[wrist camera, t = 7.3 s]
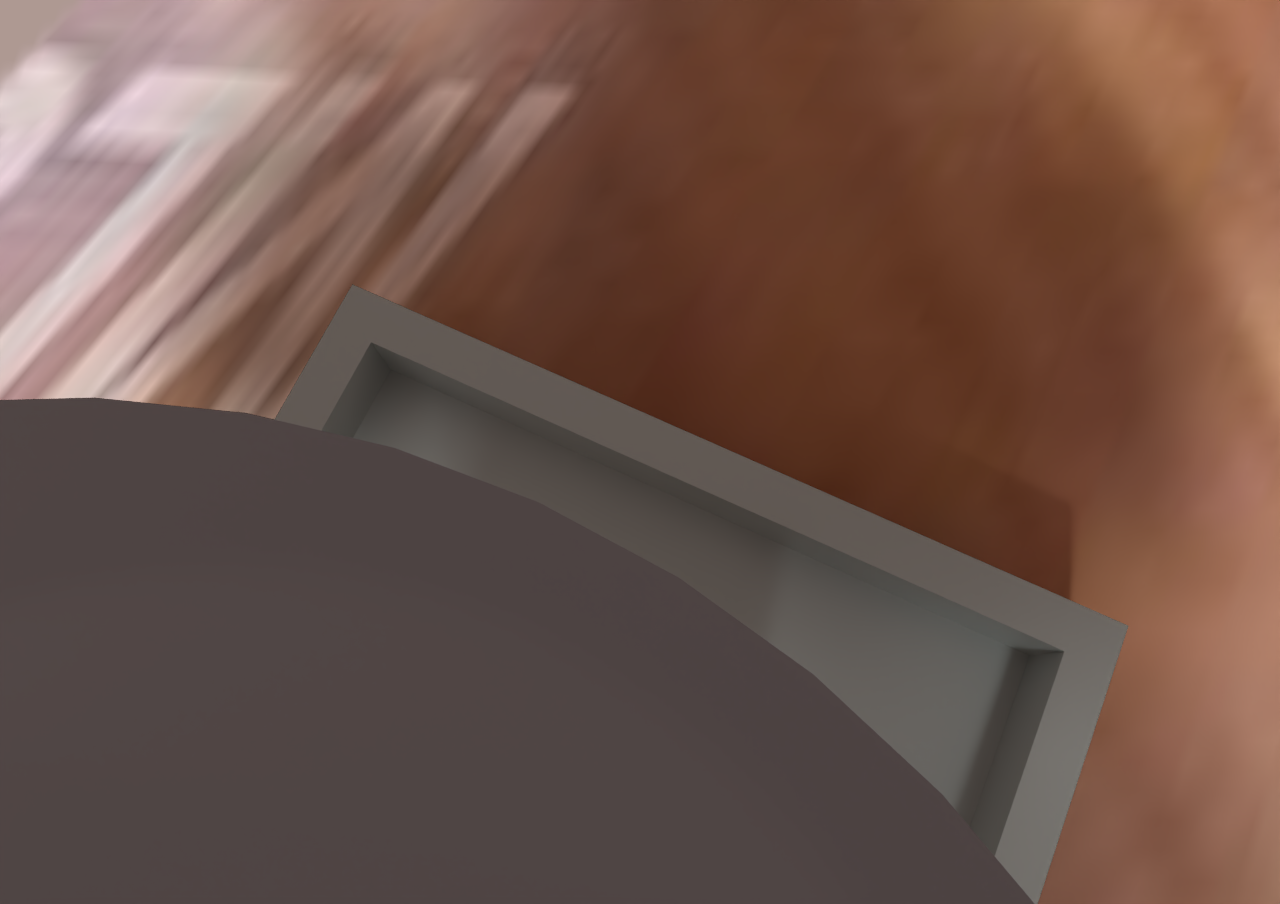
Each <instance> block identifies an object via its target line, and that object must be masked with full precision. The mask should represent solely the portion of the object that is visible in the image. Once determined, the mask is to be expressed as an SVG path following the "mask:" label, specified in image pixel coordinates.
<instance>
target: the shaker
mask: <svg viewBox="0 0 1280 904" xmlns="http://www.w3.org/2000/svg"><path fill="white" fill-rule="evenodd" d="M0 904H1034V902H1033V901H1032V900H1031V899H1030V898H1029V897H1028V895H1027V894H1026V893H1025V892H1024V891H1023V889H1022V888H1021V887H1020V886H1019V885H1018V883H1017V882H1016V881H1015V880H1014V879H1013V878H1012V876H1011V875H1010V874H1009V873H1008V872H1007V870H1006V869H1005V868H1004V867H1003V866H1002V865H1001V863H1000V862H999V861H998V860H997V859H996V857H995V856H994V855H993V854H992V853H991V851H990V850H989V849H988V848H987V847H986V846H985V844H984V843H983V842H982V841H981V840H980V838H979V837H978V836H977V835H976V834H975V833H974V831H973V830H972V829H971V828H970V827H969V825H968V824H967V823H966V822H965V821H964V819H963V818H962V817H961V816H960V815H959V814H958V812H957V811H956V810H955V809H954V808H953V806H952V805H951V804H950V803H949V802H948V801H947V799H946V798H945V797H944V796H943V795H942V793H940V792H939V791H938V790H937V789H936V788H935V787H934V786H933V785H932V784H931V783H930V782H929V781H928V780H926V779H925V778H924V777H923V776H922V775H921V774H920V773H919V772H918V771H917V770H916V769H915V768H914V767H912V766H911V765H910V764H909V763H908V762H907V761H906V760H905V759H904V758H903V757H902V756H901V755H900V754H898V753H897V752H896V751H895V750H894V749H893V748H892V747H891V746H890V745H889V744H888V743H887V742H886V741H885V740H883V739H882V738H881V737H880V736H879V735H878V734H877V733H876V732H875V731H874V730H873V729H872V728H871V727H869V726H868V725H867V724H866V723H865V722H864V721H863V720H862V719H861V718H860V717H859V716H858V715H857V714H855V713H854V712H853V711H852V710H851V709H850V708H849V707H848V706H847V705H846V704H845V703H844V702H843V701H841V700H840V699H839V698H838V697H837V696H836V695H835V694H834V693H833V692H832V691H831V690H830V689H829V688H827V687H826V686H825V685H824V684H823V683H822V682H821V681H820V680H819V679H818V678H817V677H816V676H815V675H814V674H812V673H811V672H809V671H808V670H807V669H805V668H804V667H802V666H801V665H800V664H798V663H797V662H796V661H794V660H793V659H791V658H790V657H789V656H787V655H786V654H784V653H783V652H782V651H780V650H779V649H777V648H776V647H775V646H773V645H772V644H770V643H769V642H768V641H766V640H765V639H763V638H762V637H761V636H759V635H758V634H757V633H755V632H754V631H752V630H751V629H750V628H748V627H747V626H745V625H744V624H743V623H741V622H740V621H738V620H737V619H736V618H734V617H733V616H731V615H730V614H729V613H727V612H726V611H725V610H723V609H722V608H720V607H719V606H718V605H716V604H715V603H713V602H712V601H711V600H709V599H708V598H706V597H705V596H704V595H702V594H701V593H699V592H698V591H697V590H695V589H694V588H693V587H691V586H690V585H688V584H687V583H686V582H684V581H683V580H681V579H680V578H679V577H677V576H675V575H673V574H671V573H669V572H667V571H666V570H664V569H662V568H660V567H658V566H656V565H654V564H653V563H651V562H649V561H647V560H645V559H643V558H641V557H640V556H638V555H636V554H634V553H632V552H630V551H628V550H627V549H625V548H623V547H621V546H619V545H617V544H615V543H613V542H612V541H610V540H608V539H606V538H604V537H602V536H600V535H599V534H597V533H595V532H593V531H591V530H589V529H587V528H586V527H584V526H582V525H580V524H578V523H576V522H574V521H573V520H571V519H569V518H567V517H565V516H563V515H561V514H560V513H558V512H556V511H554V510H552V509H550V508H548V507H547V506H545V505H543V504H541V503H539V502H537V501H534V500H531V499H529V498H526V497H523V496H521V495H518V494H515V493H513V492H510V491H507V490H505V489H502V488H500V487H497V486H494V485H492V484H489V483H486V482H484V481H481V480H478V479H476V478H473V477H470V476H468V475H465V474H463V473H460V472H457V471H455V470H452V469H449V468H447V467H444V466H441V465H439V464H436V463H433V462H431V461H428V460H426V459H423V458H420V457H418V456H415V455H412V454H410V453H407V452H404V451H402V450H399V449H396V448H393V447H389V446H385V445H380V444H376V443H372V442H368V441H363V440H359V439H355V438H351V437H346V436H342V435H338V434H333V433H329V432H325V431H321V430H316V429H312V428H308V427H304V426H299V425H295V424H291V423H287V422H282V421H278V420H274V419H269V418H265V417H261V416H257V415H252V414H248V413H240V412H231V411H221V410H211V409H201V408H191V407H181V406H171V405H161V404H151V403H141V402H131V401H122V400H112V399H102V398H65V399H25V400H0Z"/></svg>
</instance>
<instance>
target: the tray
mask: <svg viewBox="0 0 1280 904" xmlns="http://www.w3.org/2000/svg"><path fill="white" fill-rule="evenodd" d="M275 420H278V421H282V422H287V423H291V424H295V425H299V426H304V427H308V428H312V429H316V430H321V431H325V432H329V433H333V434H338V435H342V436H346V437H351V438H355V439H359V440H363V441H368V442H372V443H376V444H380V445H385V446H389V447H393V448H396V449H399V450H402V451H404V452H407V453H410V454H412V455H415V456H418V457H420V458H423V459H426V460H428V461H431V462H433V463H436V464H439V465H441V466H444V467H447V468H449V469H452V470H455V471H457V472H460V473H463V474H465V475H468V476H470V477H473V478H476V479H478V480H481V481H484V482H486V483H489V484H492V485H494V486H497V487H500V488H502V489H505V490H507V491H510V492H513V493H515V494H518V495H521V496H523V497H526V498H529V499H531V500H534V501H537V502H539V503H541V504H543V505H545V506H547V507H548V508H550V509H552V510H554V511H556V512H558V513H560V514H561V515H563V516H565V517H567V518H569V519H571V520H573V521H574V522H576V523H578V524H580V525H582V526H584V527H586V528H587V529H589V530H591V531H593V532H595V533H597V534H599V535H600V536H602V537H604V538H606V539H608V540H610V541H612V542H613V543H615V544H617V545H619V546H621V547H623V548H625V549H627V550H628V551H630V552H632V553H634V554H636V555H638V556H640V557H641V558H643V559H645V560H647V561H649V562H651V563H653V564H654V565H656V566H658V567H660V568H662V569H664V570H666V571H667V572H669V573H671V574H673V575H675V576H677V577H679V578H680V579H681V580H683V581H684V582H686V583H687V584H688V585H690V586H691V587H693V588H694V589H695V590H697V591H698V592H699V593H701V594H702V595H704V596H705V597H706V598H708V599H709V600H711V601H712V602H713V603H715V604H716V605H718V606H719V607H720V608H722V609H723V610H725V611H726V612H727V613H729V614H730V615H731V616H733V617H734V618H736V619H737V620H738V621H740V622H741V623H743V624H744V625H745V626H747V627H748V628H750V629H751V630H752V631H754V632H755V633H757V634H758V635H759V636H761V637H762V638H763V639H765V640H766V641H768V642H769V643H770V644H772V645H773V646H775V647H776V648H777V649H779V650H780V651H782V652H783V653H784V654H786V655H787V656H789V657H790V658H791V659H793V660H794V661H796V662H797V663H798V664H800V665H801V666H802V667H804V668H805V669H807V670H808V671H809V672H811V673H812V674H814V675H815V676H816V677H817V678H818V679H819V680H820V681H821V682H822V683H823V684H824V685H825V686H826V687H827V688H829V689H830V690H831V691H832V692H833V693H834V694H835V695H836V696H837V697H838V698H839V699H840V700H841V701H843V702H844V703H845V704H846V705H847V706H848V707H849V708H850V709H851V710H852V711H853V712H854V713H855V714H857V715H858V716H859V717H860V718H861V719H862V720H863V721H864V722H865V723H866V724H867V725H868V726H869V727H871V728H872V729H873V730H874V731H875V732H876V733H877V734H878V735H879V736H880V737H881V738H882V739H883V740H885V741H886V742H887V743H888V744H889V745H890V746H891V747H892V748H893V749H894V750H895V751H896V752H897V753H898V754H900V755H901V756H902V757H903V758H904V759H905V760H906V761H907V762H908V763H909V764H910V765H911V766H912V767H914V768H915V769H916V770H917V771H918V772H919V773H920V774H921V775H922V776H923V777H924V778H925V779H926V780H928V781H929V782H930V783H931V784H932V785H933V786H934V787H935V788H936V789H937V790H938V791H939V792H940V793H942V795H943V796H944V797H945V798H946V799H947V801H948V802H949V803H950V804H951V805H952V806H953V808H954V809H955V810H956V811H957V812H958V814H959V815H960V816H961V817H962V818H963V819H964V821H965V822H966V823H967V824H968V825H969V827H970V828H971V829H972V830H973V831H974V833H975V834H976V835H977V836H978V837H979V838H980V840H981V841H982V842H983V843H984V844H985V846H986V847H987V848H988V849H989V850H990V851H991V853H992V854H993V855H994V856H995V857H996V859H997V860H998V861H999V862H1000V863H1001V865H1002V866H1003V867H1004V868H1005V869H1006V870H1007V872H1008V873H1009V874H1010V875H1011V876H1012V878H1013V879H1014V880H1015V881H1016V882H1017V883H1018V885H1019V886H1020V887H1021V888H1022V889H1023V891H1024V892H1025V893H1026V894H1027V895H1028V897H1029V898H1030V899H1031V900H1032V901H1033V902H1034V904H1038V901H1039V898H1040V895H1041V892H1042V889H1043V886H1044V883H1045V880H1046V877H1047V873H1048V870H1049V867H1050V864H1051V861H1052V858H1053V855H1054V852H1055V849H1056V846H1057V843H1058V840H1059V837H1060V834H1061V831H1062V828H1063V824H1064V821H1065V818H1066V815H1067V812H1068V809H1069V806H1070V803H1071V800H1072V797H1073V794H1074V791H1075V788H1076V785H1077V782H1078V779H1079V776H1080V772H1081V769H1082V766H1083V763H1084V760H1085V757H1086V754H1087V751H1088V748H1089V745H1090V742H1091V739H1092V736H1093V733H1094V730H1095V727H1096V723H1097V720H1098V717H1099V714H1100V711H1101V708H1102V705H1103V702H1104V699H1105V696H1106V693H1107V690H1108V687H1109V684H1110V681H1111V678H1112V674H1113V671H1114V668H1115V665H1116V662H1117V659H1118V656H1119V653H1120V650H1121V647H1122V644H1123V641H1124V638H1125V635H1126V632H1127V629H1128V626H1127V625H1125V624H1123V623H1121V622H1118V621H1116V620H1114V619H1112V618H1109V617H1107V616H1105V615H1102V614H1100V613H1098V612H1096V611H1093V610H1091V609H1089V608H1087V607H1084V606H1082V605H1080V604H1077V603H1075V602H1073V601H1071V600H1068V599H1066V598H1064V597H1062V596H1059V595H1057V594H1055V593H1052V592H1050V591H1048V590H1046V589H1043V588H1041V587H1039V586H1037V585H1034V584H1032V583H1030V582H1028V581H1025V580H1023V579H1021V578H1018V577H1016V576H1014V575H1012V574H1009V573H1007V572H1005V571H1003V570H1000V569H998V568H996V567H993V566H991V565H989V564H987V563H984V562H982V561H980V560H978V559H975V558H973V557H971V556H968V555H966V554H964V553H962V552H959V551H957V550H955V549H953V548H950V547H948V546H946V545H943V544H941V543H939V542H937V541H934V540H932V539H930V538H928V537H925V536H923V535H921V534H918V533H916V532H914V531H912V530H909V529H907V528H905V527H903V526H900V525H898V524H896V523H893V522H891V521H889V520H887V519H884V518H882V517H880V516H878V515H875V514H873V513H871V512H868V511H866V510H864V509H862V508H859V507H857V506H855V505H853V504H850V503H848V502H846V501H843V500H841V499H839V498H837V497H834V496H832V495H830V494H828V493H825V492H823V491H821V490H818V489H816V488H814V487H812V486H809V485H807V484H805V483H803V482H800V481H798V480H796V479H793V478H791V477H789V476H787V475H784V474H782V473H780V472H778V471H775V470H773V469H771V468H768V467H766V466H764V465H762V464H759V463H757V462H755V461H753V460H750V459H748V458H746V457H743V456H741V455H739V454H737V453H734V452H732V451H730V450H728V449H725V448H723V447H721V446H718V445H716V444H714V443H712V442H709V441H707V440H705V439H703V438H700V437H698V436H696V435H693V434H691V433H689V432H687V431H684V430H682V429H680V428H678V427H675V426H673V425H671V424H668V423H666V422H664V421H662V420H659V419H657V418H655V417H653V416H650V415H648V414H646V413H643V412H641V411H639V410H637V409H634V408H632V407H630V406H628V405H625V404H623V403H621V402H618V401H616V400H614V399H612V398H609V397H607V396H605V395H603V394H600V393H598V392H596V391H593V390H591V389H589V388H587V387H584V386H582V385H580V384H578V383H575V382H573V381H571V380H568V379H566V378H564V377H562V376H559V375H557V374H555V373H553V372H550V371H548V370H546V369H543V368H541V367H539V366H537V365H534V364H532V363H530V362H528V361H525V360H523V359H521V358H518V357H516V356H514V355H512V354H509V353H507V352H505V351H503V350H500V349H498V348H496V347H493V346H491V345H489V344H487V343H484V342H482V341H480V340H478V339H475V338H473V337H471V336H468V335H466V334H464V333H462V332H459V331H457V330H455V329H453V328H450V327H448V326H446V325H443V324H441V323H439V322H437V321H434V320H432V319H430V318H428V317H425V316H423V315H421V314H418V313H416V312H414V311H412V310H409V309H407V308H405V307H403V306H400V305H398V304H396V303H393V302H391V301H389V300H387V299H384V298H382V297H380V296H378V295H375V294H373V293H371V292H368V291H366V290H364V289H362V288H359V287H357V286H355V285H353V284H352V286H351V288H350V290H349V291H348V293H347V295H346V296H345V298H344V300H343V302H342V303H341V305H340V307H339V309H338V310H337V312H336V314H335V316H334V317H333V319H332V321H331V323H330V324H329V326H328V328H327V329H326V331H325V333H324V335H323V336H322V338H321V340H320V342H319V343H318V345H317V347H316V349H315V350H314V352H313V354H312V356H311V357H310V359H309V361H308V362H307V364H306V366H305V368H304V369H303V371H302V373H301V375H300V376H299V378H298V380H297V382H296V383H295V385H294V387H293V388H292V390H291V392H290V394H289V395H288V397H287V399H286V401H285V402H284V404H283V406H282V408H281V409H280V411H279V413H278V415H277V416H276V418H275Z"/></svg>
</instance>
